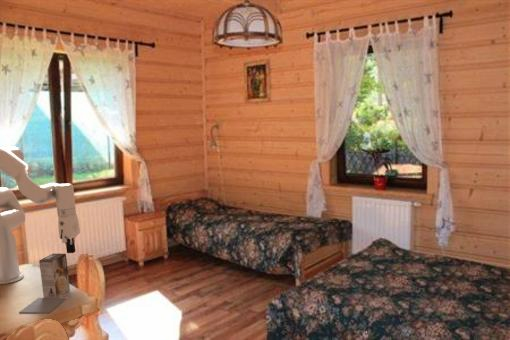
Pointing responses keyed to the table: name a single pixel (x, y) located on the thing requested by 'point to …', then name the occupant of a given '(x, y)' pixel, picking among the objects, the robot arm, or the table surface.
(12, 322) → the table surface
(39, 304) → the mat
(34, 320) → the table surface
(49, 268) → the coffee box
